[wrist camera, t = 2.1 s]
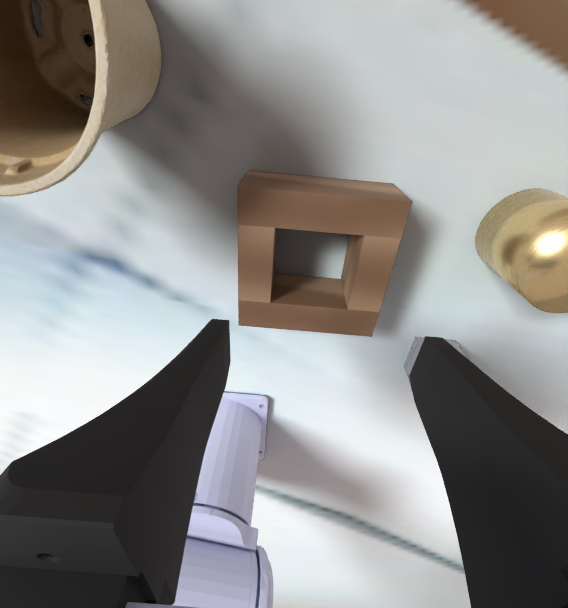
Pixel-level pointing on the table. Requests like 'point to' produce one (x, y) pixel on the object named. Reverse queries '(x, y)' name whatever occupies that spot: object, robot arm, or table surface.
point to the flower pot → (69, 83)
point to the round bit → (529, 246)
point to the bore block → (322, 218)
